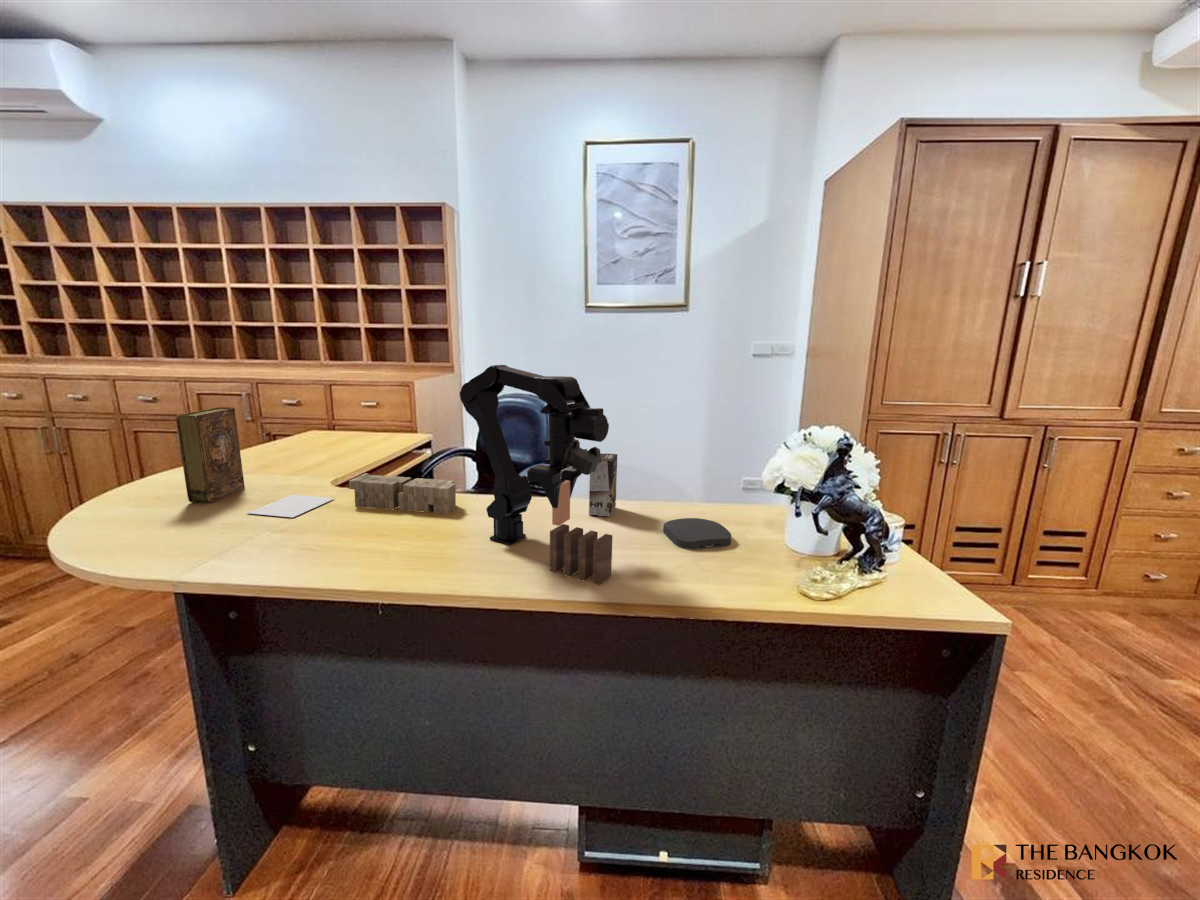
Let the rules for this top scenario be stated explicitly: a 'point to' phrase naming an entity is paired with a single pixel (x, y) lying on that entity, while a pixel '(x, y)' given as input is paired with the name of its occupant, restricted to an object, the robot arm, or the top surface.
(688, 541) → the media streaming box
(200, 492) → the book
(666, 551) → the top surface
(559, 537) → the walnut domino
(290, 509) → the paper stack
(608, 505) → the coffee box
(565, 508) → the terracotta domino
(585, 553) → the walnut domino
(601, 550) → the walnut domino
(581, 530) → the walnut domino
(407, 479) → the block tower
